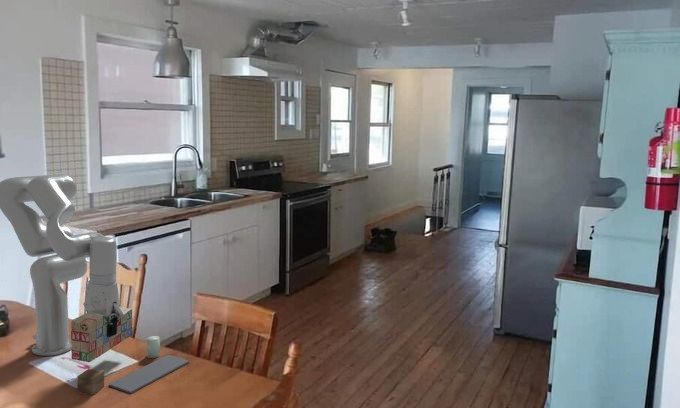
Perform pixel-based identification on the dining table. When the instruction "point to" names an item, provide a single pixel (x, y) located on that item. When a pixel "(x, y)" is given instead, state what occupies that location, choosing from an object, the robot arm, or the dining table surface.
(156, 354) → the mint green capsule
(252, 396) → the dining table surface
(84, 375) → the walnut cube
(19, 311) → the dining table surface
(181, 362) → the mat
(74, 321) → the stack of blocks
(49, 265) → the robot arm
